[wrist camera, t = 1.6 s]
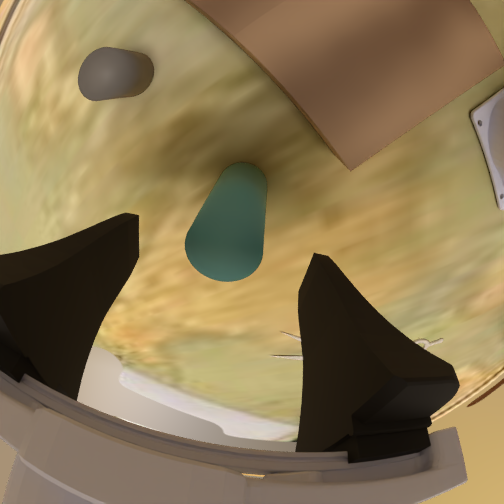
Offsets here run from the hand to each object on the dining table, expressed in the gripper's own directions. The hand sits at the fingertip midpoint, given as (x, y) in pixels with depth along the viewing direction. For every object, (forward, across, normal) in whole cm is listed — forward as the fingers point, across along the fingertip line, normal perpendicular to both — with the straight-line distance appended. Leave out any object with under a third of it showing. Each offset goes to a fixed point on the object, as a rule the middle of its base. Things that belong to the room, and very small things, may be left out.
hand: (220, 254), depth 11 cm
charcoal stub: (+8, +9, -7) cm, 14 cm away
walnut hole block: (+8, -1, -16) cm, 18 cm away
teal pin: (+8, 0, 0) cm, 8 cm away
